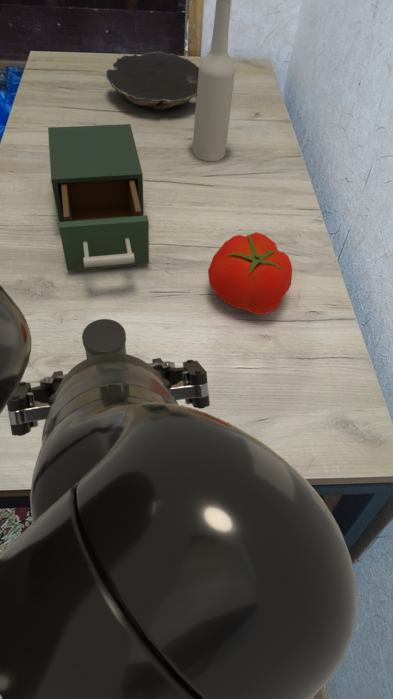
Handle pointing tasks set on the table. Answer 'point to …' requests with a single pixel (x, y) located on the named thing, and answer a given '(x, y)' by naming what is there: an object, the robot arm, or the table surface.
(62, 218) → the cabinet
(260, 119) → the table surface
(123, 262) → the drawer
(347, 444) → the table surface
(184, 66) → the rough clay dish
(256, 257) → the tomato
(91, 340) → the plastic container
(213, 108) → the bottle
